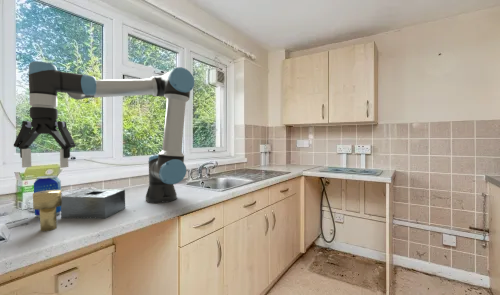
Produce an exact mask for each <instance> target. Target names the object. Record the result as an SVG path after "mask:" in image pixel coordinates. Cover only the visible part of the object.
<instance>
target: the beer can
mask: <svg viewBox="0 0 500 295" xmlns="http://www.w3.org/2000/svg"><path fill="white" fill-rule="evenodd" d="M61 182H62V181H61V180H60V179H59V178H58V175H42V176H37V177H36V179H35V181H34V182H33V193H36V192H40V191H46V190H61V191H62V184H61ZM60 214H61V206H58V207H56V216H58V215H60ZM34 215H35V216H36V217H37V218H38V219H40V210H35V209H34Z"/></svg>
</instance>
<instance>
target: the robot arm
mask: <svg viewBox="0 0 500 295" xmlns="http://www.w3.org/2000/svg"><path fill="white" fill-rule="evenodd" d="M194 87H195V77H194V75H193V74H192V72H191V71H189V70H188V69H187V68H185V67H180V66H179V67H175V68H172V69H170V71H168V72H167V73H164V74H163V75H160V76H151V77H150V78H140V79H139V78H135V79H134V78H128V79H126V78H125V79H124V78H123V79H119V78H118V79H96V77H95V76H93V75H88V74H85V73H82V74H81V73H74V72H73V73H72V72H65V71H60V70H58V69H57V66H56V65H55V64H53V63H49V62H46V61H37V60H36V61H31V62H29V64H28V91H29V94H28V95H29V96H28V97H29V106H31V107H29V118H31V120H29V121H28V120H23V121H22V122H21V128H20V130H19V132H18V135H17V137H16V138H15V141H14V144H13V147H14V148H18V149H19V153H20V154H19V156H20V159H21V168H31V167H32V149H31V148H30V147H31V145H32V144H33V143H34V141H35V140H36V139H37V138H38V137H39V135H49V136H51V137H52V138H53V139H54V140H55V141H56V142H57V144H58V145H59V146H60V147H61V148H60V149H59V166H60V169H64V168H69V159H70V158H71V149H72V148H75V147H76V146H77V145H76V143H75V141H74V139H73V136H72V134H71V133H70V131H69V129H68V125H67V122H66V121H62V120H58V121H57V119H59V112H58V111H59V110H58V93H65V94H67V95H68V96H69V97H70V98H72V99H74V100H79V101H80V100H84V99H92V98H107V97H108V98H109V97H110V98H111V97H131V96H132V97H134V96H151V95H152V96H153V97H164V98H165V99H166V109H165V118H164V129H163V137H162V138H163V139H162V141H163V142H162V148H161V149H162V150H161V151H160V152H158V154H155V155H153V154H152V155H150V156H149V157H148V188H147V190H146V194H145V202H147V203H149V204H151V203H152V204H161V203H167V202H172V201H175V200H176V199H177V196H178V194H177V190H176V188H175V185H176V184H179V183H181V182H182V181H183V180H184V179H185V177H186V175H187V166H186V164H185V163H184V162H185V155H184V153H183V152H182V148H183V137H184V127H185V115H186V104H187V102H188V101H189V100H190V98H191V97H190V96H191V91H192V90H193V89H194ZM57 128H58V129H57Z"/></svg>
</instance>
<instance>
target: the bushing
mask: <svg viewBox="0 0 500 295" xmlns="http://www.w3.org/2000/svg"><path fill="white" fill-rule="evenodd" d="M62 196H63V195H62V189H61V190H46V191H40V192H36V193H34V192H33V193H32V205H33V206H32V209H33V210H34V211H35V210H40V218H39V230H40V232H48V231H53V230H55V229H57V228H58V225H57V224H58V223H57V222H58V221H57V215H56V207H58V206H61V205H62Z"/></svg>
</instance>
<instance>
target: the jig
mask: <svg viewBox="0 0 500 295" xmlns="http://www.w3.org/2000/svg"><path fill="white" fill-rule="evenodd" d="M125 209H126V190H125V189H109V188H108V189H106V188H105V189H104V188H103V189H98V188H95V189H94V188H89V189H88V188H86V189H83V190H79V191H75V192H72V193H69V194H65V195H62V205H61V212H60V219H95V220H96V219H101V220H103V219H104V220H105V219H107V218H109V217H111V216H113V215H115V214H116V213H119V212H121V211H122V210H125Z"/></svg>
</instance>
